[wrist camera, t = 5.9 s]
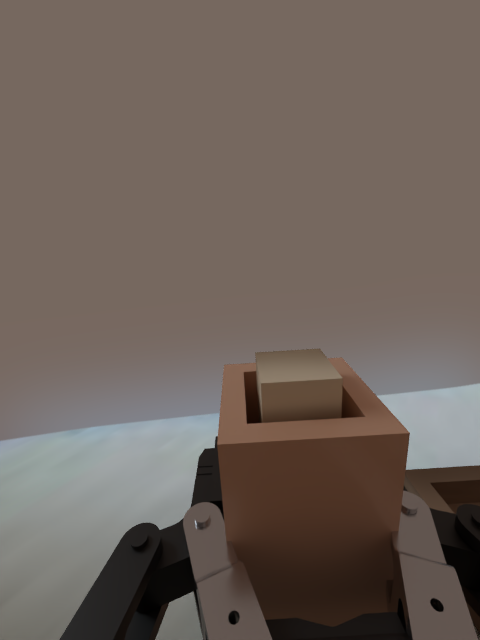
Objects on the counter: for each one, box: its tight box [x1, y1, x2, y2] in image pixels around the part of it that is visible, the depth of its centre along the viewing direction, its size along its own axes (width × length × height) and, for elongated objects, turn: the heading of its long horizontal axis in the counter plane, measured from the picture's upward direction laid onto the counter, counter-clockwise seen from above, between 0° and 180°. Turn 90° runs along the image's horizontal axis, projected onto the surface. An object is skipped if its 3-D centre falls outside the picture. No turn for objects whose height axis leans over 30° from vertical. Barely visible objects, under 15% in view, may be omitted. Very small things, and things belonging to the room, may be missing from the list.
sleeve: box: [217, 358, 410, 627], centre depth 11 cm, size 5×5×10 cm
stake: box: [255, 349, 343, 423], centre depth 11 cm, size 7×7×12 cm
